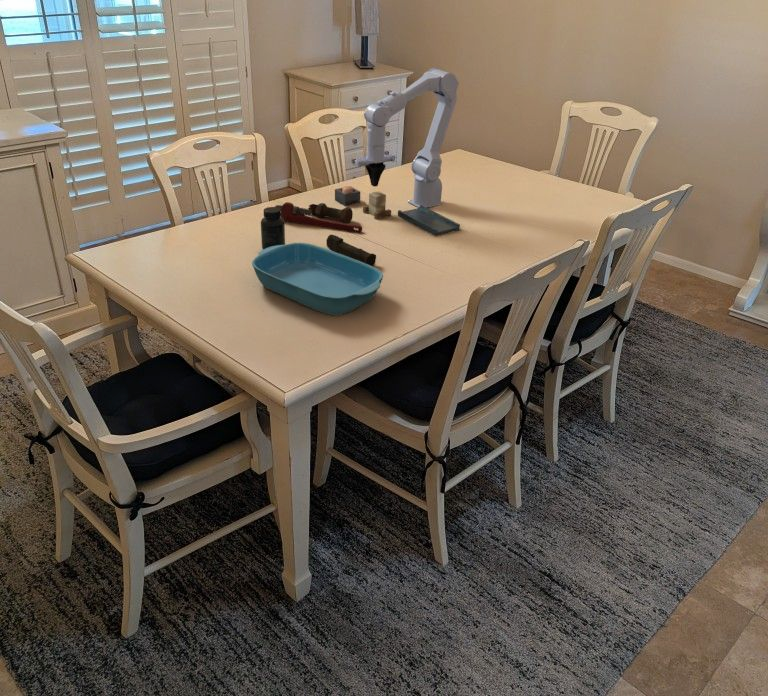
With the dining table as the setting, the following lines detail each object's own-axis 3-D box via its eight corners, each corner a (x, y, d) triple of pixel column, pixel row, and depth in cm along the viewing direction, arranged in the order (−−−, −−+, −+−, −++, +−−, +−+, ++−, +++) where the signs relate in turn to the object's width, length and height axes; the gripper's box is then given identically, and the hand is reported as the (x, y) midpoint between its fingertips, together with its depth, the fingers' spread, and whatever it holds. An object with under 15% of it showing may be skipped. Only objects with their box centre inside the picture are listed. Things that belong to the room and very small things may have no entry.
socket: (377, 208, 234) (377, 203, 233) (390, 216, 229) (391, 210, 228) (362, 211, 231) (363, 206, 230) (376, 219, 226) (376, 213, 225)
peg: (378, 211, 232) (379, 191, 229) (385, 215, 230) (385, 194, 226) (368, 213, 230) (369, 193, 227) (375, 217, 228) (376, 196, 224)
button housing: (350, 197, 243) (350, 186, 241) (360, 202, 239) (360, 191, 237) (334, 200, 240) (334, 189, 238) (344, 205, 235) (344, 194, 233)
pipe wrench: (360, 236, 215) (272, 221, 221) (362, 233, 217) (275, 218, 223) (361, 216, 212) (271, 201, 218) (363, 213, 214) (274, 199, 220)
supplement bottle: (270, 242, 206) (268, 203, 200) (289, 246, 204) (288, 208, 198) (257, 249, 201) (255, 210, 195) (276, 255, 199) (275, 215, 192)
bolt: (311, 218, 229) (350, 226, 223) (304, 215, 225) (342, 223, 219) (316, 201, 229) (354, 209, 223) (308, 197, 224) (347, 205, 218)
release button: (348, 196, 241) (349, 185, 239) (354, 199, 238) (354, 188, 236) (340, 198, 239) (340, 187, 237) (345, 201, 237) (346, 190, 234)
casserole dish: (398, 297, 180) (400, 273, 176) (344, 330, 164) (345, 304, 160) (294, 258, 198) (293, 235, 194) (237, 285, 182) (235, 260, 178)
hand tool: (376, 265, 196) (377, 250, 193) (366, 269, 193) (367, 254, 191) (333, 245, 207) (334, 230, 205) (323, 248, 205) (323, 233, 202)
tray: (421, 210, 234) (421, 205, 233) (459, 230, 221) (460, 224, 220) (397, 216, 229) (397, 210, 228) (435, 236, 216) (436, 230, 215)
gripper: (387, 138, 225) (385, 178, 233) (349, 143, 218) (349, 185, 225) (399, 143, 221) (397, 184, 228) (362, 149, 213) (361, 191, 220)
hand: (374, 185), depth 226 cm, fingers closed
